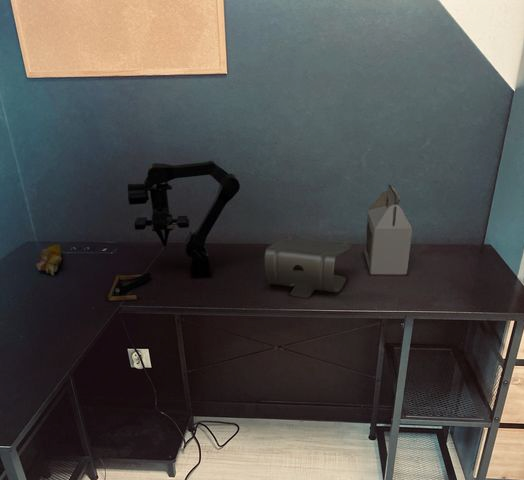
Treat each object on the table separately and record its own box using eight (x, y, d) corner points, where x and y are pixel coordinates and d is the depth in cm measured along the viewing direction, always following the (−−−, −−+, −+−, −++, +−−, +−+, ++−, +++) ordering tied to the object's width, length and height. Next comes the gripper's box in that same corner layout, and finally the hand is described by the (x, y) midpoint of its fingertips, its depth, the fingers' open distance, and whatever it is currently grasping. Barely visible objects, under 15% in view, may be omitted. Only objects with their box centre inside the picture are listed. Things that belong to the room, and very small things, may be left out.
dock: (143, 277, 197) (142, 273, 196) (136, 299, 181) (135, 295, 180) (117, 278, 197) (116, 275, 196) (108, 300, 181) (107, 296, 180)
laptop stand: (262, 293, 183) (261, 250, 175) (283, 268, 202) (283, 228, 194) (334, 303, 175) (337, 259, 167) (350, 276, 194) (352, 235, 186)
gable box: (406, 275, 194) (416, 198, 179) (370, 274, 195) (377, 198, 180) (397, 253, 213) (405, 182, 198) (364, 253, 214) (370, 182, 199)
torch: (62, 263, 222) (54, 278, 199) (43, 255, 219) (32, 271, 196) (69, 244, 219) (60, 258, 197) (49, 237, 217) (38, 250, 194)
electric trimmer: (154, 281, 195) (152, 273, 193) (120, 295, 184) (119, 287, 182) (147, 278, 197) (145, 270, 195) (113, 293, 186) (112, 284, 184)
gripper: (129, 210, 176) (135, 255, 184) (185, 208, 177) (190, 252, 185) (133, 201, 185) (140, 244, 193) (187, 199, 186) (191, 241, 194)
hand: (165, 245), depth 191 cm, fingers closed
